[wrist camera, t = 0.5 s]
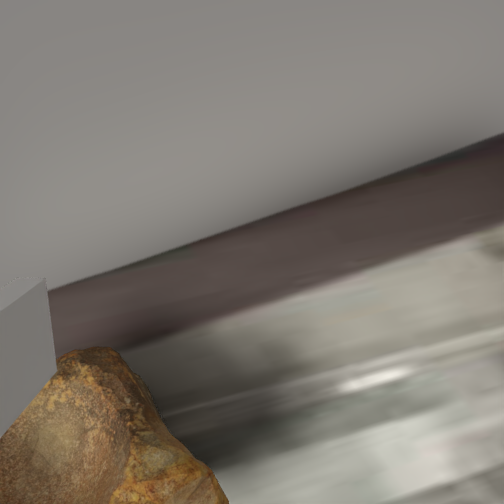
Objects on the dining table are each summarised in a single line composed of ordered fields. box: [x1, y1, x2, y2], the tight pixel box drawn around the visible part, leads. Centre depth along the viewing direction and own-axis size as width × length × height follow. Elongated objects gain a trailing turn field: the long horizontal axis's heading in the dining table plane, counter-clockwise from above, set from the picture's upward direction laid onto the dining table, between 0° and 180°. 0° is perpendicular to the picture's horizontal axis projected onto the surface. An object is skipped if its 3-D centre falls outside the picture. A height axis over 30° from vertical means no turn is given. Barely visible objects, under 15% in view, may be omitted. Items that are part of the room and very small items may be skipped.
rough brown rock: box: [0, 347, 229, 504], centre depth 38 cm, size 23×16×15 cm
